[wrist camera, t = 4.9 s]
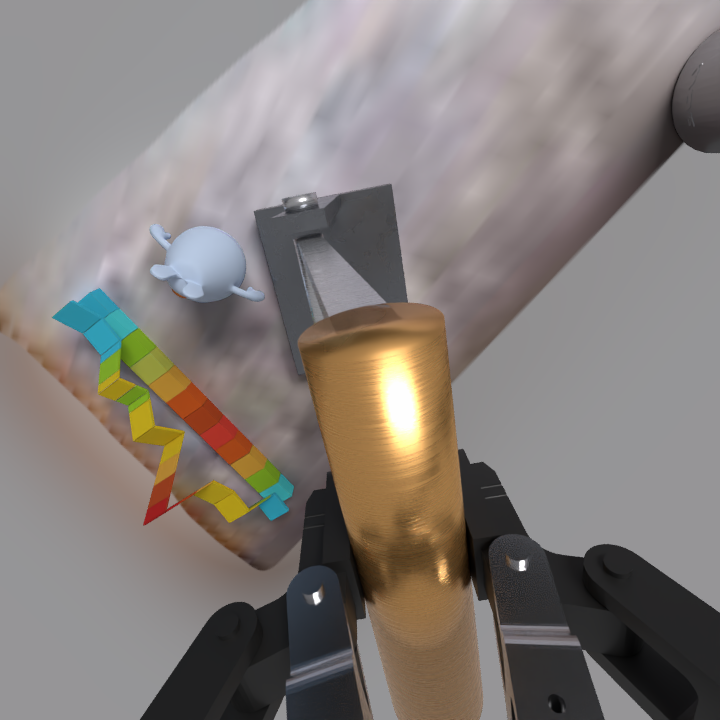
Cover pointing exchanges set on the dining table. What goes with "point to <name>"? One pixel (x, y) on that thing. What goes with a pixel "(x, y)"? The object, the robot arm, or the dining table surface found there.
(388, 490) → the lever
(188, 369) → the dining table surface
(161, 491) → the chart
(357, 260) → the lever stand
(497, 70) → the dining table surface
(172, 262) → the toy figure
